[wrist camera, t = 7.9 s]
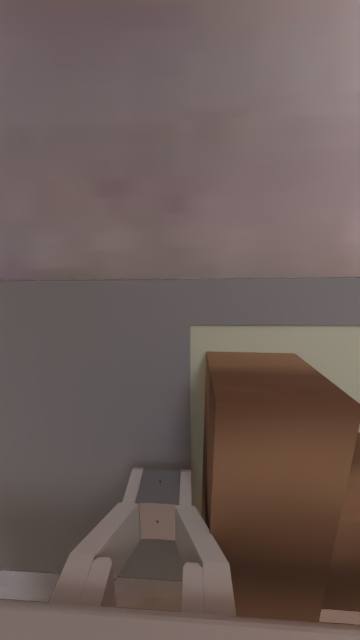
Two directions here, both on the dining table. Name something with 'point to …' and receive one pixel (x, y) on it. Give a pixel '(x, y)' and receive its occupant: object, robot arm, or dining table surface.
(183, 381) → the board
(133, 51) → the dining table surface
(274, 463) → the t block
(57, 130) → the dining table surface
